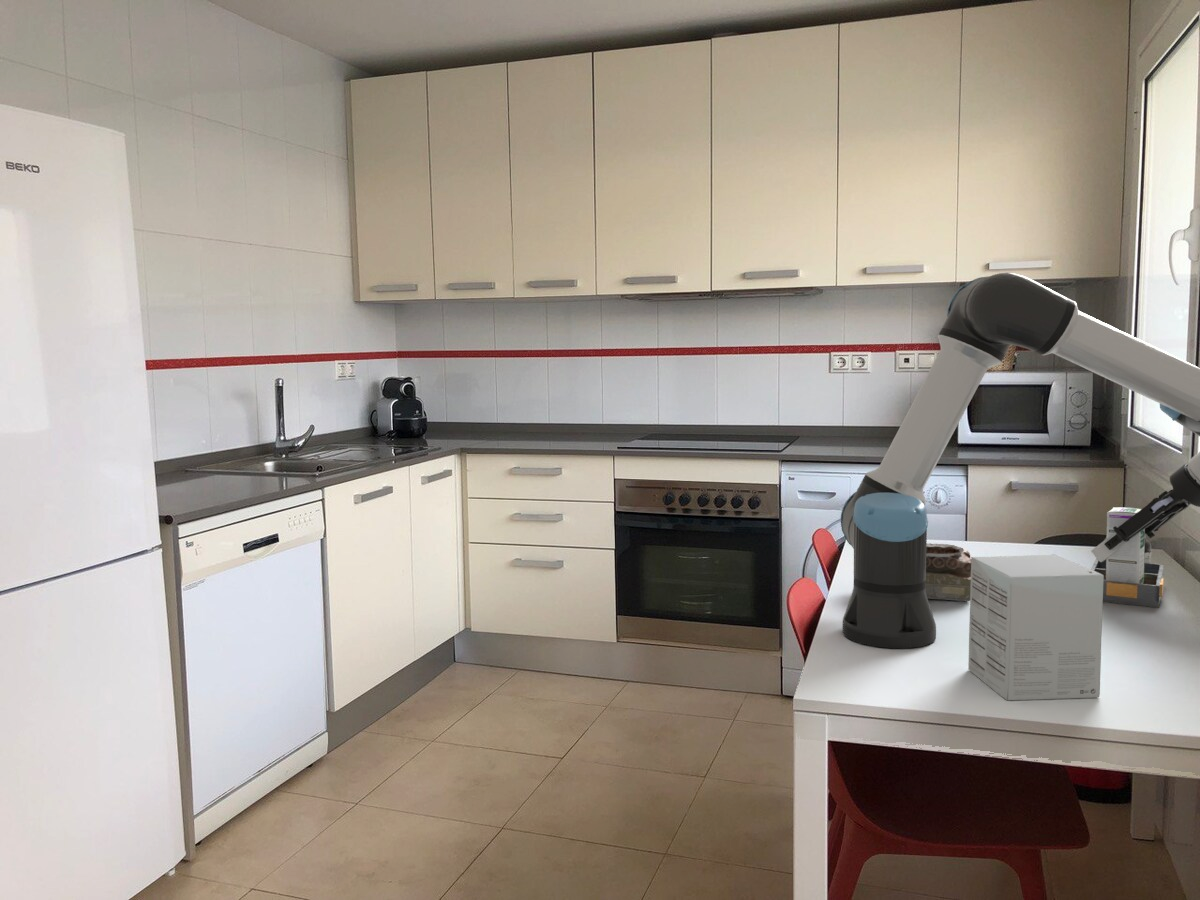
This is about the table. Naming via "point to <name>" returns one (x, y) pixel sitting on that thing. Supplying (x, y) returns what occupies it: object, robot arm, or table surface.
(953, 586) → the decorative box
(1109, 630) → the table surface
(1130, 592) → the grey divided tray
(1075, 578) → the supplement box
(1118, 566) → the syrup box
